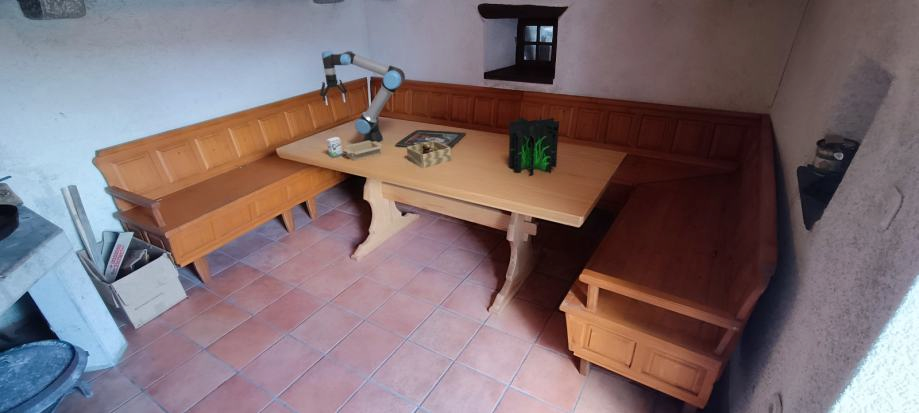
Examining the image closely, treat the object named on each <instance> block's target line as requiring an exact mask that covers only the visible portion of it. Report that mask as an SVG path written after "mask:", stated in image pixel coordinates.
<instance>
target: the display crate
mask: <svg viewBox="0 0 919 413" xmlns="http://www.w3.org/2000/svg"><path fill="white" fill-rule="evenodd" d="M424 144H427V145H430V147H431V148H432V149H433V150H434V152H430V153H426V154H423V148H422V146H423V143H421V144H417V145H413V146H409V147H406V153H407V155H406V156H407V161H409V163H410V162H411V163H412V164H414V165H416V166H418V167H420V168H423V169H425V168H429V167H434V166H437V165H440V164H444V163H447V162H451V161H452V154H451V153H452V152H451V149H452V147H451V148H450V147H449V146H446V145H444V144H442V143H440V142H437V141H434V140H433V141H429V142H425V143H424Z"/></svg>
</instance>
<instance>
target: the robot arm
mask: <svg viewBox="0 0 919 413" xmlns="http://www.w3.org/2000/svg"><path fill="white" fill-rule="evenodd" d="M321 59H322V65H323V70H324V74H325V80H326V81H322V82H321V84H322V85H321V89H320V92H319V96H320V97H322V100H323V102H324V103H325V106H328V105H329V104H328V99H327V96H326V95H327V93H328V92H329V89H330V88H337V89H338V90H339V91H341V96H342V102H343V103H346V98H347V96H346V93H348V89H347V88H346V87H345V84H343V81H342V80H341V79H337V74H336V73H337V72H336V67H335V66H350V65H354V66H357V67H359V68H361V69H364V70H367V71H369V72H372V73H375V74H377V75H381V76H383V78H382V81H381V83H380V85H381V87H380V88H379V90H378V92H377V94H376V95H375V97H374V99H373V100H372V101H371V103H370V105H369V106H368V107H367V110H366V111H362V113H361V115H360V117H359V118H358V119H357V120H356V122H355V124H354V126H355V129H356V132H358V133H359V134H361V135H363V142H364V141H371V142H374V141H377V142H378V143H381V142H382V141H384V137H383V134H382V132H381V130H380V124H379V115H380V113H381V111H382V110H383V108H384V107H385V105H386V103H387V101H388V100H389V99H390V97H391V96H392V94H395V93H396V92H397V90H398V89H399V87H400V85H402V84H403V83H404V82H405V80H406V79H405V78H406V75H405V73H404V70H402V69H401V68H398V67H395V66H393V65H389V66H388V65H386V64H383V63H380V62H377V61H374V60H372V59H370V58H367V57H364V56H361V55H358V54H356V53H354V52H353V51H351V50H347V51H344V52H342V53H337V54H336V53H335V54H334V53H333V51H331V50H326V51H325V50H324V51H322V52H321ZM339 85H340V86H341V87H340V86H339Z"/></svg>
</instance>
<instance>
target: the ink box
mask: <svg viewBox="0 0 919 413" xmlns="http://www.w3.org/2000/svg"><path fill="white" fill-rule="evenodd" d="M326 144H327V150H328V153H329V155H331V156H335V155H338V154H341V153H343V150H342V149H343V148H342V142H341V138H340V137H338V136H334V137H330V138H327V139H326ZM329 155H328V156H329Z"/></svg>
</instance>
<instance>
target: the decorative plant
mask: <svg viewBox="0 0 919 413" xmlns="http://www.w3.org/2000/svg"><path fill="white" fill-rule="evenodd" d="M559 128H560V121H555V118H554V117H550V118H546V119H543V115H541V116H540V117H539V118H536V119H533V120H528V119H526V118H524V117H520V116H518V120H516V121H509V142H508V143H509V145H508V146H509V147H508V148H509V149H508V150H509V151H508V152H509V155H508V156H509V157H508V168H510V169H513V170H514V171H513V173H515V174H516V173H517V174H521V173H522V171H524V170H529V175H528V177H529V176H533V175H535V174H534V173H535V172H534V170H536V171H537V170H539V171H541V172H544V173H549V174H551V173H552V167H553V168H557V161H558V160H557V158H558V144H559V142H558V141H559Z"/></svg>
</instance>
